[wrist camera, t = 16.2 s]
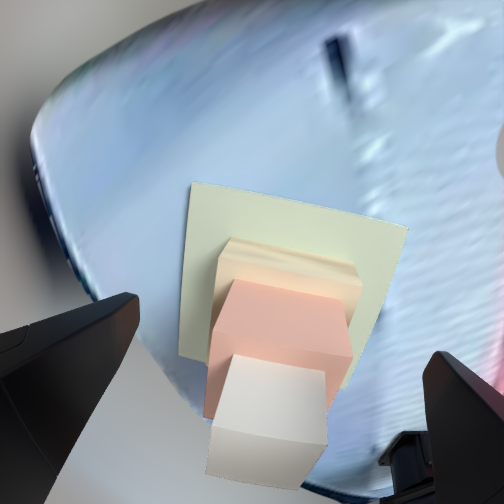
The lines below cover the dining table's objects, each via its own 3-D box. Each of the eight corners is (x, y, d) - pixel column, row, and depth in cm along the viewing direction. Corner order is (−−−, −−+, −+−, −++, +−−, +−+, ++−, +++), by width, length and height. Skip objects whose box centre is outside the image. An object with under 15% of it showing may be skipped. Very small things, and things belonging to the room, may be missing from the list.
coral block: (313, 377, 19) (313, 437, 15) (222, 359, 20) (202, 416, 15) (341, 299, 17) (353, 357, 12) (234, 278, 17) (212, 330, 13)
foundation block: (320, 357, 23) (322, 389, 20) (217, 336, 23) (205, 366, 20) (353, 262, 20) (363, 287, 17) (231, 236, 20) (218, 257, 17)
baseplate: (344, 384, 24) (344, 389, 24) (180, 351, 25) (178, 355, 25) (405, 226, 19) (408, 228, 18) (194, 181, 20) (191, 182, 19)
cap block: (300, 424, 14) (297, 490, 11) (223, 410, 15) (205, 474, 11) (324, 370, 13) (327, 445, 9) (233, 354, 13) (211, 425, 9)
